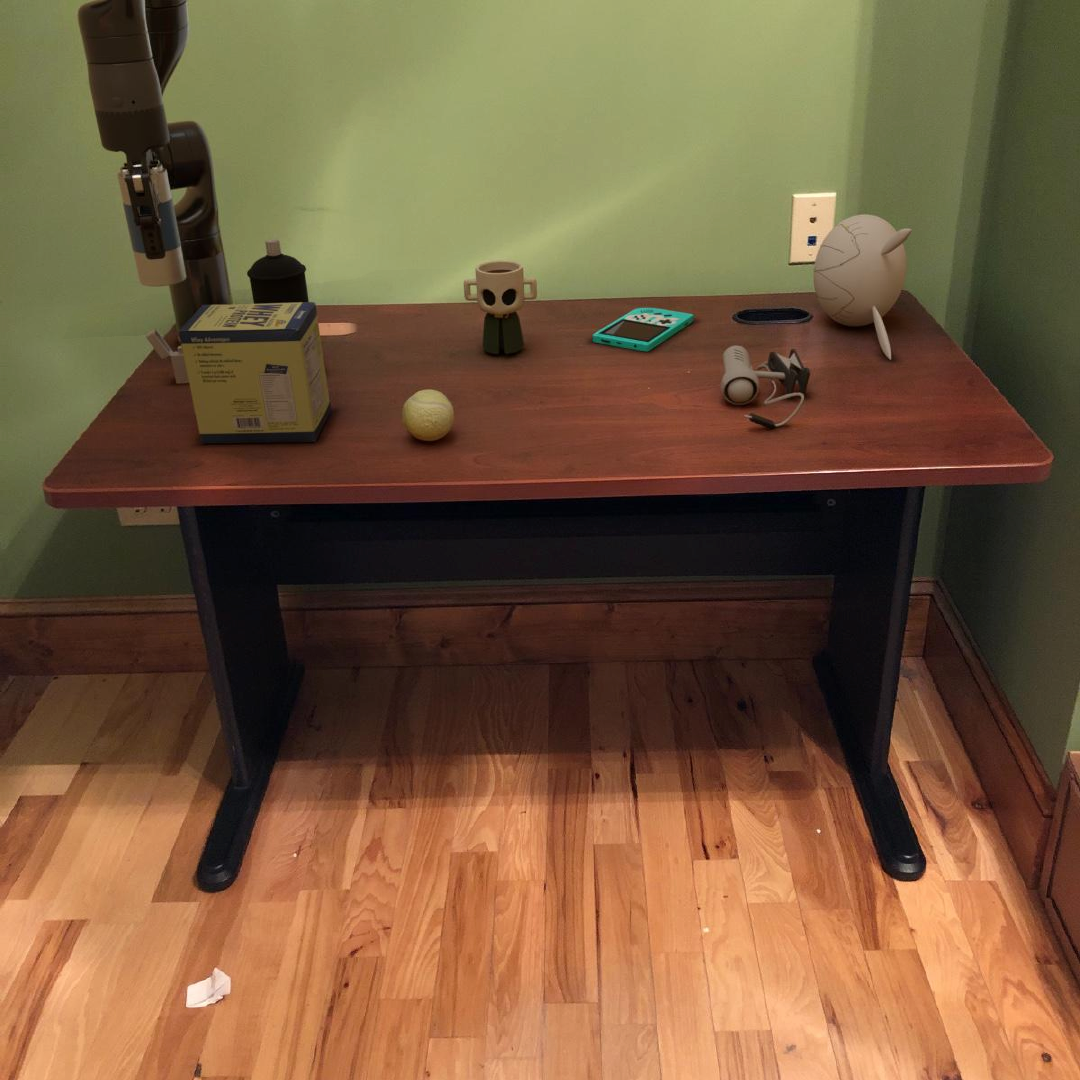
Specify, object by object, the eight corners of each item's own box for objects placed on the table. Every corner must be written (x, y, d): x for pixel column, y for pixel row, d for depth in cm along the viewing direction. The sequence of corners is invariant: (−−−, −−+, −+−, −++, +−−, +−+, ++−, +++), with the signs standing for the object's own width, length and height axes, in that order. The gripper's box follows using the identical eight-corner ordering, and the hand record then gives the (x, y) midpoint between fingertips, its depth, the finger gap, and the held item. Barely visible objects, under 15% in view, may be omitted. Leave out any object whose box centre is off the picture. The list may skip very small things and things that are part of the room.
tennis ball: (460, 445, 146) (457, 396, 142) (409, 453, 144) (404, 404, 141) (450, 426, 151) (446, 378, 148) (400, 433, 149) (395, 385, 146)
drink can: (141, 275, 141) (117, 163, 134) (187, 271, 142) (167, 159, 135) (137, 288, 136) (113, 173, 129) (186, 284, 137) (164, 169, 130)
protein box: (220, 413, 157) (200, 303, 150) (332, 410, 157) (317, 300, 149) (198, 445, 148) (175, 330, 141) (317, 443, 148) (300, 327, 140)
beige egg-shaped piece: (804, 207, 181) (858, 225, 158) (889, 209, 182) (954, 227, 159) (791, 326, 188) (840, 360, 165) (872, 328, 189) (932, 361, 166)
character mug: (465, 359, 172) (459, 274, 166) (470, 343, 178) (464, 260, 172) (537, 358, 172) (534, 273, 165) (540, 341, 178) (537, 259, 171)
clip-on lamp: (813, 449, 148) (796, 370, 161) (824, 410, 143) (806, 332, 157) (723, 443, 148) (713, 365, 161) (731, 403, 143) (720, 326, 157)
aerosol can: (307, 387, 165) (288, 249, 155) (254, 384, 166) (232, 247, 156) (328, 366, 172) (310, 233, 162) (277, 364, 173) (256, 232, 163)
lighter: (206, 377, 169) (196, 325, 165) (204, 382, 168) (194, 329, 164) (158, 380, 169) (147, 328, 165) (155, 384, 168) (144, 332, 164)
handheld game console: (695, 321, 184) (695, 313, 183) (648, 352, 172) (648, 344, 171) (640, 312, 189) (640, 304, 188) (591, 342, 177) (591, 333, 176)
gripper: (159, 111, 123) (188, 265, 132) (165, 91, 136) (191, 233, 144) (86, 116, 122) (120, 271, 131) (99, 95, 134) (130, 238, 143)
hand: (157, 250), depth 137 cm, fingers closed on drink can, 5 cm apart
